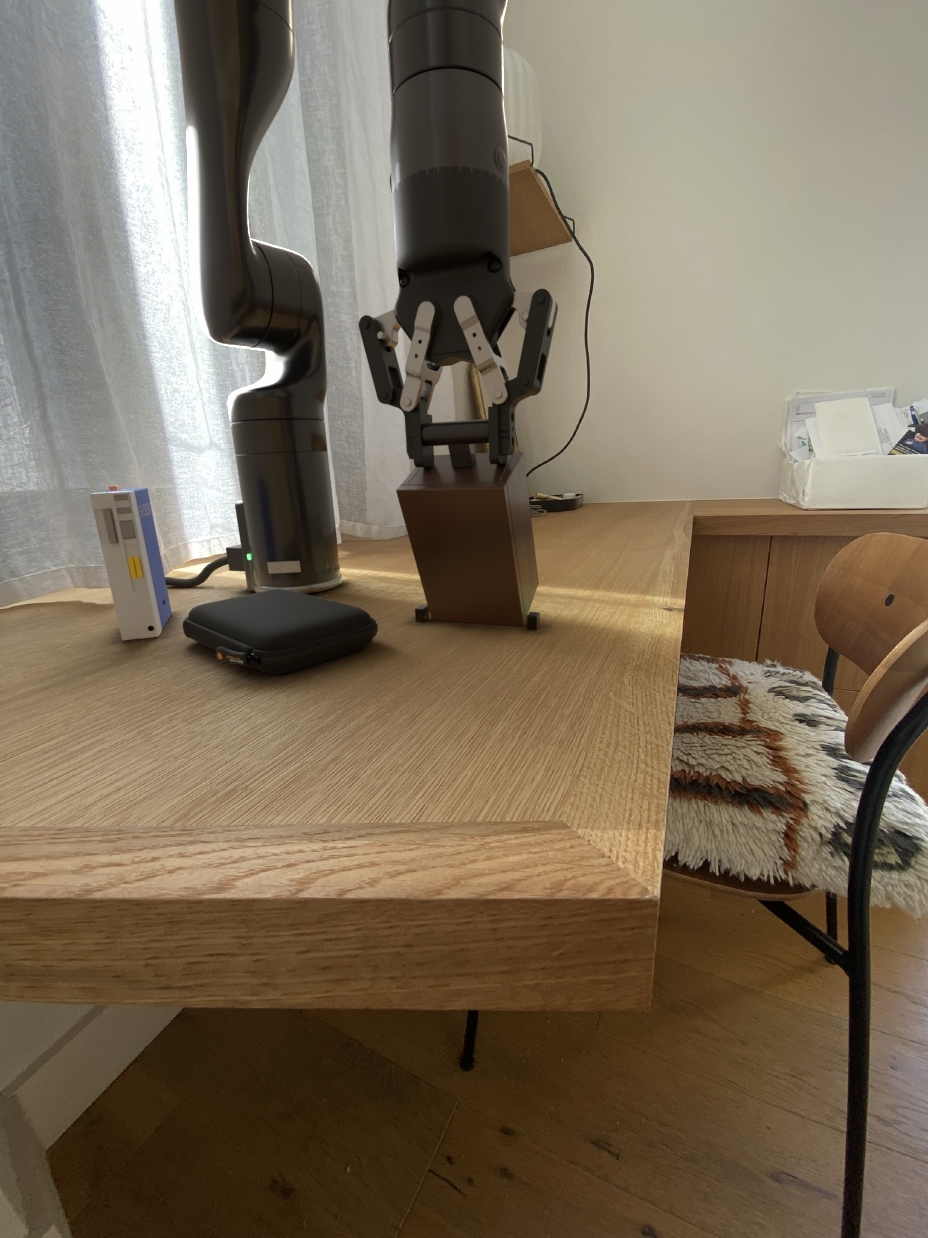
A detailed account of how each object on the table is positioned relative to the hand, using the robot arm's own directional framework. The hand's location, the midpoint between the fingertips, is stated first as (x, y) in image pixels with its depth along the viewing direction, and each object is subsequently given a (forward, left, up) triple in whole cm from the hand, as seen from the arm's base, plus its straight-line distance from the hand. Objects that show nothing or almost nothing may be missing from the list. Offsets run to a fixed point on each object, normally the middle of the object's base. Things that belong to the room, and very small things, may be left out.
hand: (460, 464), depth 40 cm
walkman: (-28, -5, -13) cm, 31 cm away
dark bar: (0, +2, -13) cm, 13 cm away
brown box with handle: (0, -1, -6) cm, 6 cm away
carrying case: (-13, -7, -13) cm, 20 cm away
